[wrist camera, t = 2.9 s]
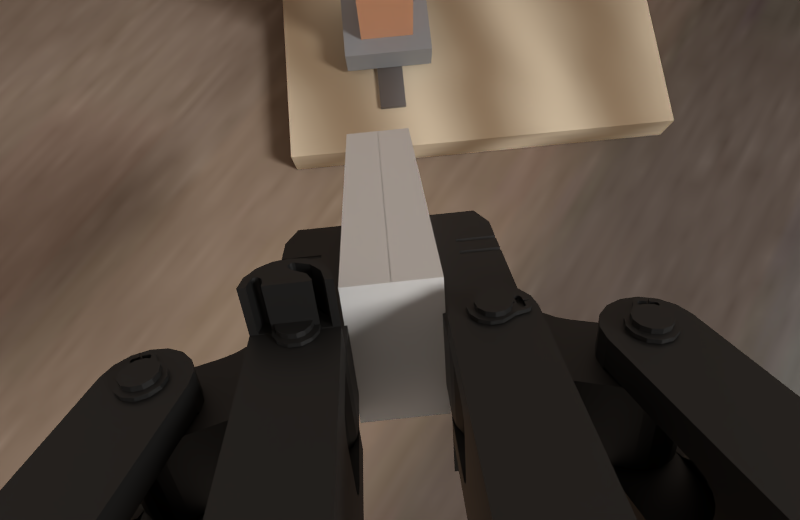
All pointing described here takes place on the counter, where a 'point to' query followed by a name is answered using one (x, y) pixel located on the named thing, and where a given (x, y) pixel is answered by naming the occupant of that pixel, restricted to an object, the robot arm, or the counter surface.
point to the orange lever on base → (385, 33)
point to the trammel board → (480, 79)
